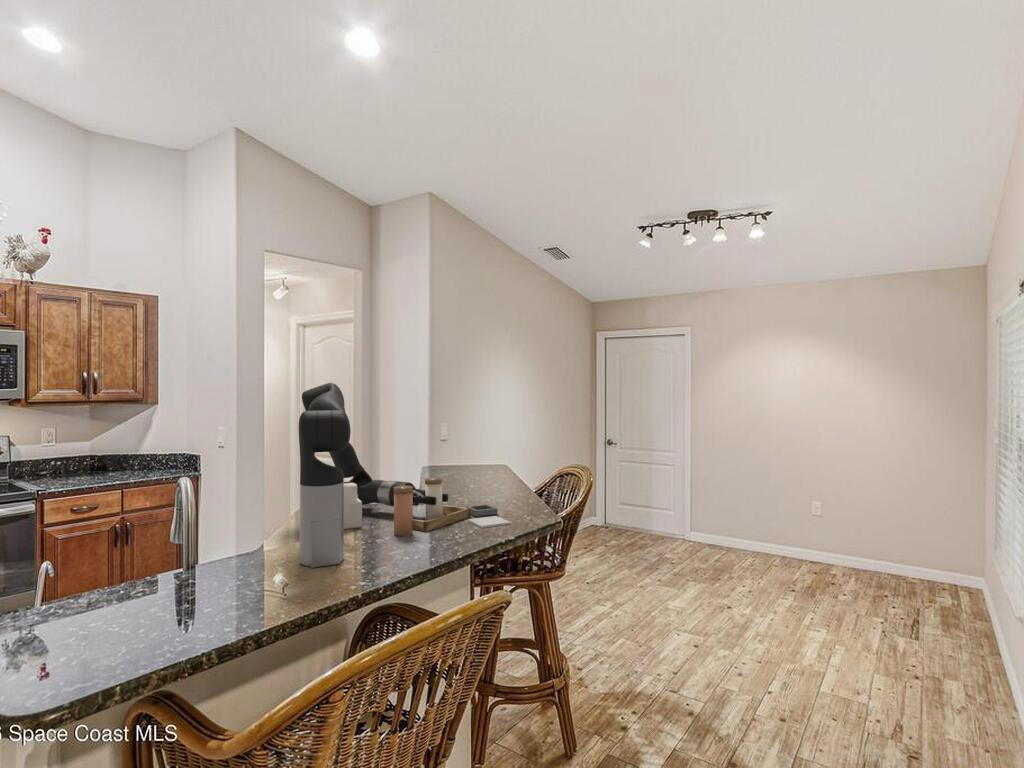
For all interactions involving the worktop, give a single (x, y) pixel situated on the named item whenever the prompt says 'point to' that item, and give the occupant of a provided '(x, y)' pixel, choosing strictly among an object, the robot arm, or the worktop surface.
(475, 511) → the hole dish
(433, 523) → the wooden tray
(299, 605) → the worktop surface
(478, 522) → the white square tile
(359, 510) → the medicine bottle
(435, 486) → the spice jar
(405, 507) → the terracotta jar
